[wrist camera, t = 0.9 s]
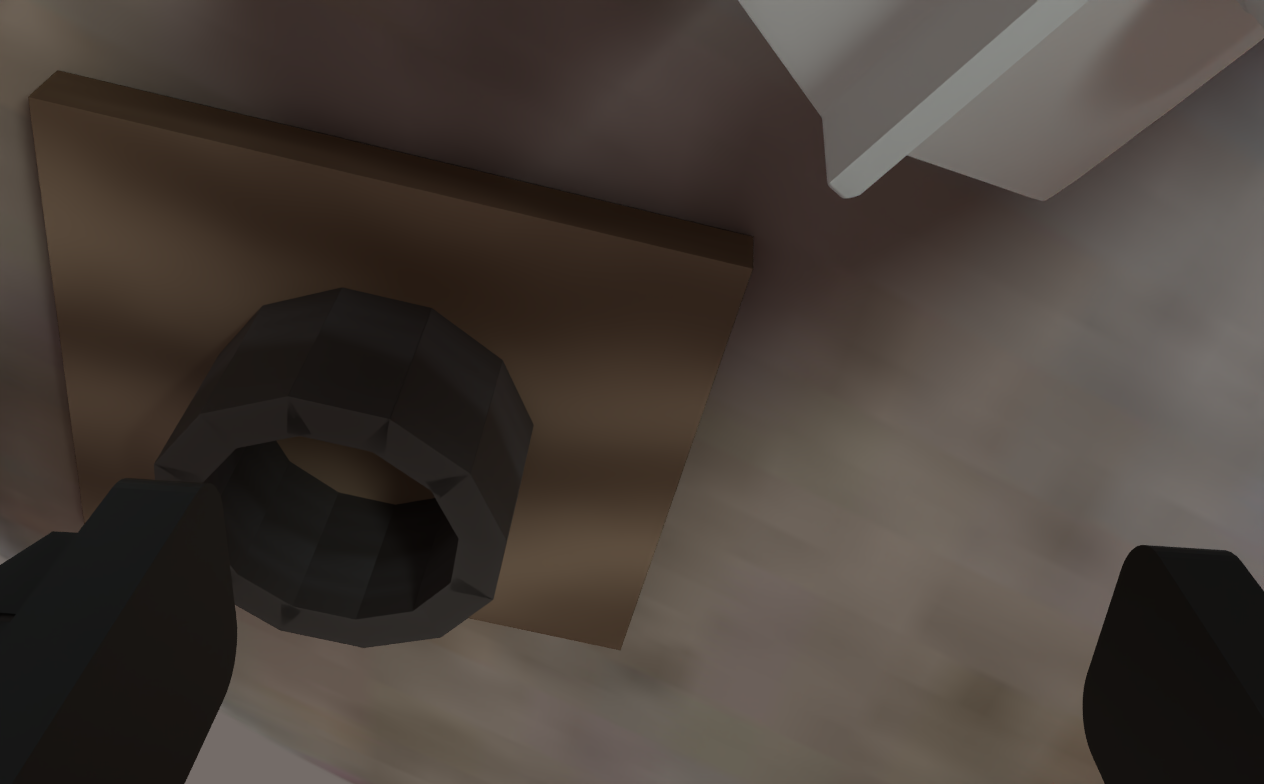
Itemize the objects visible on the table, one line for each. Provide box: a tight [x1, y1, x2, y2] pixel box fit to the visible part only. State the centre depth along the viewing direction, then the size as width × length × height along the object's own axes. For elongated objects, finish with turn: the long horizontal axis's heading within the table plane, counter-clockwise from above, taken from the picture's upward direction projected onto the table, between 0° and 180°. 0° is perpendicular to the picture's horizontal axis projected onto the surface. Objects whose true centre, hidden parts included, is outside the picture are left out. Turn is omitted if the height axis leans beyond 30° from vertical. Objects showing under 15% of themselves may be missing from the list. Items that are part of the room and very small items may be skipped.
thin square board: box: [28, 71, 753, 650], centre depth 32 cm, size 16×18×6 cm
